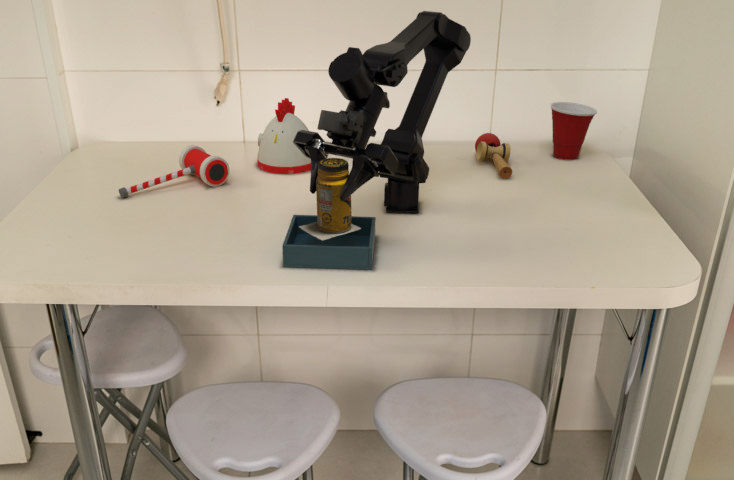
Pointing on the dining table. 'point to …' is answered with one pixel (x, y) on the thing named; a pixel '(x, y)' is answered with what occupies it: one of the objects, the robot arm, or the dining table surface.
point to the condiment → (331, 201)
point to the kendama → (494, 153)
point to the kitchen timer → (282, 143)
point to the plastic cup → (570, 128)
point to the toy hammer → (190, 170)
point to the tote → (329, 246)
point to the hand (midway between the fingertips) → (326, 196)
